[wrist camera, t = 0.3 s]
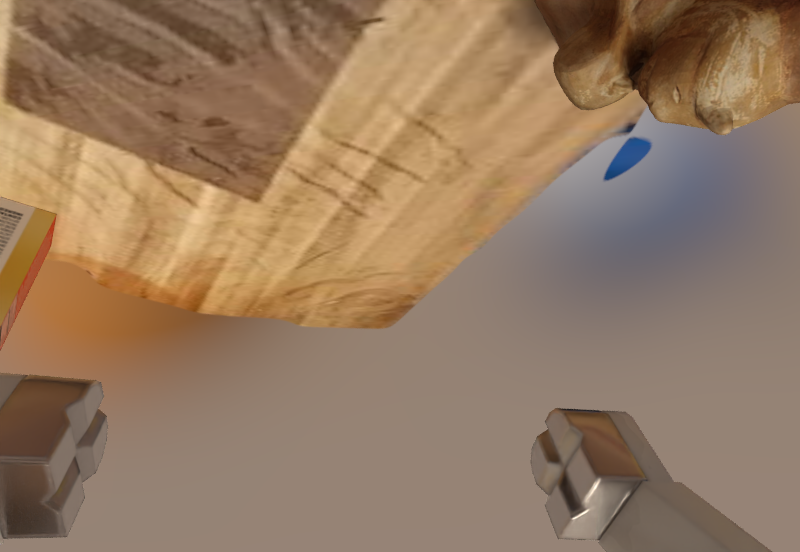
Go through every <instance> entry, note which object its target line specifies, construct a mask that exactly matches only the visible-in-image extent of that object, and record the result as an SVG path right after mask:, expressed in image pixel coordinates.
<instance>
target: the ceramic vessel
mask: <svg viewBox="0 0 800 552" xmlns="http://www.w3.org/2000/svg"><path fill="white" fill-rule="evenodd" d="M535 3H536V5H537V7H538V9H539V10H540V12H541V13H542V15H543V18H544V20H545V22H546V24H547V25H548V27H549V28H550V30H551V32H552V34H553V35H554V37H555V39H556V41H557V43H558V46H559V50H558V52H557V53H556V55H555V57H554V62H553V66H554V73H555V75H556V78H557V80H558V82H559V84H560V86H561V88H562V89H563V91H564V93H565V94H566V96H567V97H568V99H569V100H570V101H571V102H572V103H573V104H574V105H575V106H576V107H578V108H580V109H581V110H594V109H598V108H602V107H604V106H607V105H609V104H612V103H614V102H616V101H618V100H620V99H622V98H623V97H624V96H626V95H627V94H628V93H629V92H632V91H633V90H635V89H636V90H638V91H639V94H640V96H641V97H642V98H643V100H644V101H645V102H646V103H647V104H648V106H649V110H650V111H651V113H652V114H653V115H654V117H655V118H656V119H657V120H658V121H660V122H665V123H674V124H681V125H686V126H691V127H698V128H705V129H709V130H711V131H712V132H714V133H716V134H720V135H726V134H728V133H730V131H731V130H732V129H734V128H738V127H741V126H744V125H746V124H748V123H751V122H753V121H756V120H758V119H761V118H763V117H764V116H766V115H768V114H770V113H772V112H774V111H776V110H778V109H780V108H782V107H784V106H786V105H788V104H793V103H800V0H535Z"/></svg>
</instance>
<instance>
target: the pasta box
mask: <svg viewBox="0 0 800 552" xmlns="http://www.w3.org/2000/svg"><path fill="white" fill-rule="evenodd" d="M55 220H56V214H54V213H51V212H48V211H44V210H41V209H38V208H35V207H31V206H28V205H25V204H22V203H18V202H15V201H12V200H9V199H5V198H2V197H0V350H1V348H2V346H3V344H4V342H5V340H6V338H7V336H8V334H9V331H10V329H11V327H12V325H13V323H14V321H15V319H16V317H17V315H18V313H19V311H20V309H21V307H22V305H23V303H24V301H25V298H26V297H27V294H28V292H29V290H30V288H31V286H32V284H33V282H34V280H35V278H36V276H37V274H38V271H39V270H40V268H41V266H42V264H43V261H44V259H45V257H46V255H47V253H48V251H49V249H50V247H51V242H52V237H53V231H54V225H55Z"/></svg>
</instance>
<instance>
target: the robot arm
mask: <svg viewBox="0 0 800 552" xmlns="http://www.w3.org/2000/svg"><path fill="white" fill-rule="evenodd" d="M103 397H104V395H103V390H102V385H101V382H99V381H96V380H85V379H74V378H62V377H50V376H39V375H20V374H8V373H0V545H1V544H2V543H3V542H4V540H3V539H8V538H48V537H49V538H51V537H52V538H53V537H67V536H68V534H69V532H70V530H71V527H72V525H73V523H74V520H75V518H76V516H77V514H78V511H79V509H80V507H81V505H82V503H83V501H84V498H85V496H84V490H83V484H82V483H83V482H84V481H85V480H87V479H88V478H89V477H91V476H92V475H93V474H95V473H96V471H97V469H98V466H99V464H100V462H101V459H102V456H103V453H104V449H105V445H106V441H107V429H108V425H107V418H106V417H107V416H106V415H105V414H104V413H103V412H102V411H101V410H99V409H98V408H99V405H100V404H101V401H102V399H103ZM545 423H546V425H547V428H548V430H546V431H545V432H543V433H542V434H540V435H539V436H537V438H536V440H535V442H534V444H533V447H532V452H531V466H532V472H533V475H534V478H535V481H536V484H537V485H538V486H539V487H540V488H541V489H542V490H543V491H544V492H545V493H546V494H547V495H548V498H547V501H546V504H545V507H546V510H547V512H548V515H549V517H550V520H551V523H552V525H553V528H554V530H555V533H556V535H557V538H558V539H578V540H600V541H599V542H598V543H599V544H600V545H601V546H602V547H603V549H604V550H605V551H606V552H772V551H770V550H769V549H768V548H767V547H765V546H764V545H763V544H761V543H760V542H759V541H758V540H756V539H755V538H754V537H752V536H751V535H750V534H748V533H747V532H745V531H744V530H743V529H742V528H740V527H739V526H738V525H736V524H735V523H734V522H733V521H731V520H730V519H728V518H727V517H726V516H725V515H723V514H722V513H721V512H719V511H718V510H717V509H715V508H714V507H713V506H711V505H710V504H709V503H707V502H706V501H705V500H704V499H702V498H701V497H700V496H698V495H697V494H695V493H694V492H693V491H692V490H690V489H689V488H688V487H686V486H685V485H684V484H682V483H680V482H674V481H673V480H672V478H671V476H670V475H669V473H668V472H667V470H666V469H665V467H664V466H663V464H662V463H661V461H660V459H659V458H658V456H657V455H656V453H655V452H654V450H653V449H652V447H651V446H650V444H649V442H648V441H647V439H646V438H645V436H644V434H643V433H642V431H641V430H640V428H639V427H638V425H637V424H636V422H635V420H634V419H633V418H632V417H631V416H630V415H629V414H627V413H626V412H618V411H599V410H580V409H561V408H555V409H554V410H552V411H551V412H550V413H549V415H548V417H547V419H546V420H545Z"/></svg>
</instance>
